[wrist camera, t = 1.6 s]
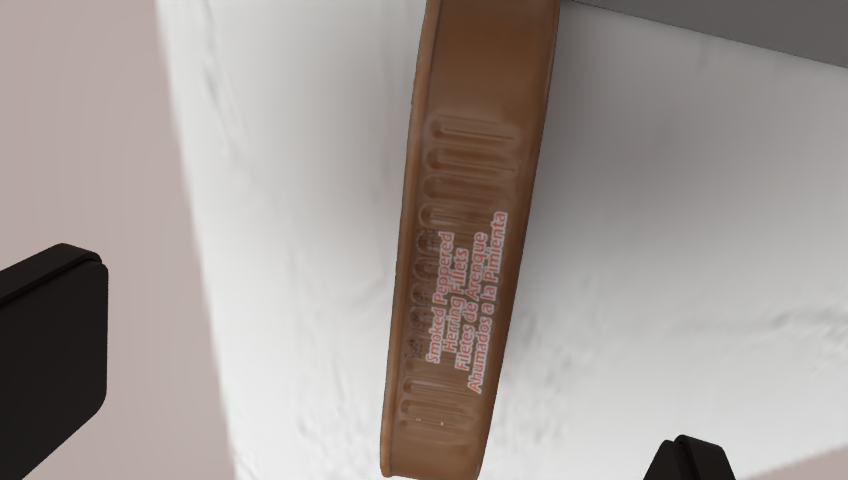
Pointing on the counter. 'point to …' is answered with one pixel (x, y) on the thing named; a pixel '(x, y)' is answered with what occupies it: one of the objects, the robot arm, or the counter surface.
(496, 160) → the tin
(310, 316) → the counter surface
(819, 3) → the flat grey bar
